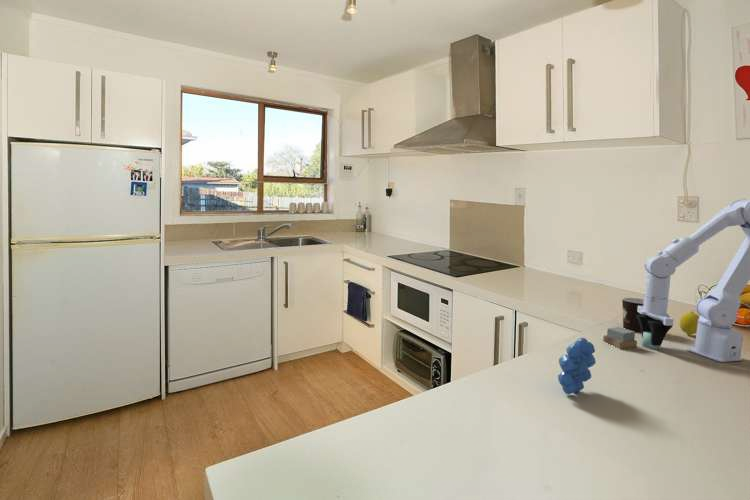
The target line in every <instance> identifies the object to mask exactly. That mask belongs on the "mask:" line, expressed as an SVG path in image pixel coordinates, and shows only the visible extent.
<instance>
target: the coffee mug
mask: <svg viewBox="0 0 750 500" xmlns="http://www.w3.org/2000/svg"><path fill="white" fill-rule="evenodd" d="M621 302H622V328H625V329H628V330H631V331H634V332H635V333H638V332H640V334H641V328H640V324H639V322H638V319H637V318H636V315H641V314H640V313H639V312H637V309H638V306H643V305H644V298H636V297H623V298H622V301H621Z"/></svg>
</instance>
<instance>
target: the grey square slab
mask: <svg viewBox="0 0 750 500" xmlns="http://www.w3.org/2000/svg"><path fill="white" fill-rule="evenodd" d="M606 335H607V337H610V338H613V339H616V340H619V341H622V342H626V341H632V340H635V337H636V336H635V335H636V332H634V331H631V330H628V329H624V328H623V327H620V326H615V327H609V328H607V332H606Z"/></svg>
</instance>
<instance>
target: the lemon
mask: <svg viewBox="0 0 750 500" xmlns="http://www.w3.org/2000/svg"><path fill="white" fill-rule="evenodd" d="M699 318H700V315H699V314H698V313H694V311H687V312H684V313H683V314H682V315H681V317H680V319H679V324H678V325H679V328H680V330H681V331H682V332H683V333H685V334H686V335H687V336H691V335H694V334H697V325H698V319H699Z"/></svg>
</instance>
